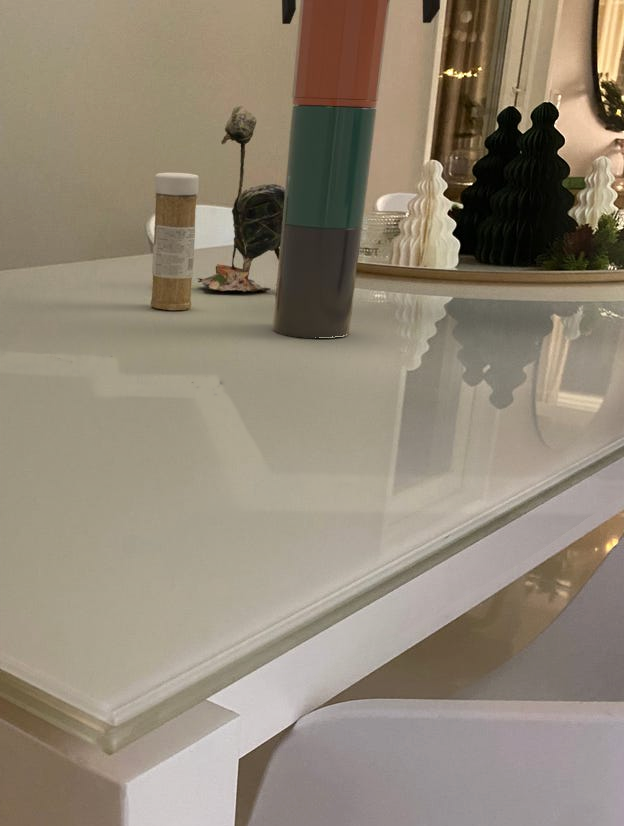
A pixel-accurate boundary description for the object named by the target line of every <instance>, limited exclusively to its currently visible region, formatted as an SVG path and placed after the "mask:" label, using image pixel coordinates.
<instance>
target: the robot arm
mask: <svg viewBox="0 0 624 826" xmlns="http://www.w3.org/2000/svg"><path fill="white" fill-rule="evenodd" d="M296 1H297V0H281V19H282V21H281V23H282V25H291V24H292V20H293V18H294V15H295V13H296V11H297V4H296V3H297V2H296ZM440 9H441V0H422V24H431V23H432V22H433V20H434V18H435V17H436V15H438V14H437V13H438V12H439V11H440Z"/></svg>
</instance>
